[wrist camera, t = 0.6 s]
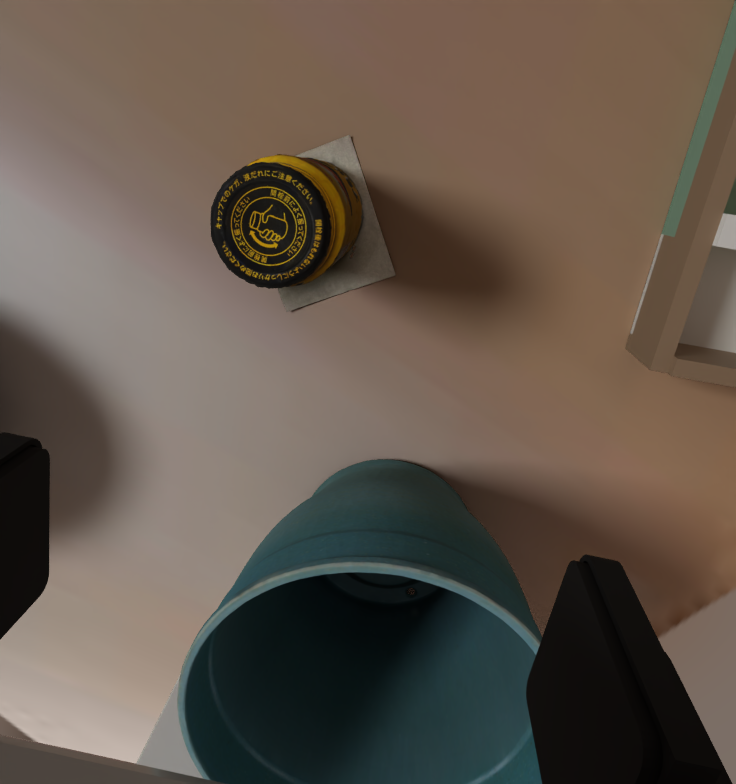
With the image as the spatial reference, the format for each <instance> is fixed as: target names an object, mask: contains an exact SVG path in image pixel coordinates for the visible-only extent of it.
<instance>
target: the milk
mask: <svg viewBox="0 0 736 784" xmlns="http://www.w3.org/2000/svg"><path fill="white" fill-rule="evenodd" d="M180 675H181V674H180ZM179 679H180V676H179V678H178V680H177V682H176V684H175V686H174V688H173V690H172V692H171V694H170V696H169V698H168V700H167V702H166V704H165V706H164V709H163V711H162V713H161V715H160V717H159V719H158V721H157V723H156V725H155V727H154V729H153V731H152V733H151V735H150V737H149V739H148V741H147V743H146V745H145V747H144V749H143V751H142V753H141V755H140V757H139V759H138V761H137V763H136V764H139V765H144V766H148V767H153V768H157V769H162V770H166V771H171V772H175V773H180V774H185V775H189V776H194V777H198V778H202V776H201V775H200V773H199V772H198V770H197V768H196V766H195V764H194V763H193V761H192V759H191V757H190V755H189V753H188V751H187V748H186V745H185V742H184V739H183V736H182V733H181V728H180V724H179V717H178V708H177V697H178V686H179Z"/></svg>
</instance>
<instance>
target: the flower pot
mask: <svg viewBox="0 0 736 784" xmlns="http://www.w3.org/2000/svg"><path fill="white" fill-rule="evenodd" d="M410 588H413V589H414V590H415V593H414V595H410V594H408V593H407V590H408V589H410ZM541 640H542V636H541V634H540V631H539V629H538V627H537V625H536V623H535V621H534V620H533V617H532V614H531V612H530V609H529V606H528V603H527V601H526V598H525V596H524V594H523V591H522V589H521V587H520V584H519V582H518V580H517V578H516V576H515V574H514V572H513V570H512V568H511V566H510V564H509V562H508V560H507V559H506V557H505V555H504V554H503V552H502V551H501V549H500V548H499V546H498V545H497V543H496V542H495V541H494V539H493V538H492V537H491V535H490V534H489V533H488V532H487V530H486V529H485V528H484V527H483V526H482V525H481V524H480V523H479V522H478V520H477V519H476V518H475V517H474V516H473V515H471V514H470V513H469V512H468V511H467V509H466V506H465V505H464V503H463V501H462V500H461V498H460V497H459V495H458V494H457V493H456V492H455V490H454V489H453V488H452V487H451V486H450V485H449V484H447V483H446V482H445V481H444V480H443V479H441V478H440V477H439V476H437V475H435V474H434V473H432V472H431V471H429V470H427V469H424V468H422V467H420V466H417V465H414V464H411V463H407V462H403V461H397V460H370V461H364V462H361V463H357V464H354V465H351V466H349V467H347V468H345V469H342V470H340V471H338V472H337V473H335V474H334V475H332V476H331V477H329V478H328V479H327V480H326V481H325V482H324V483H323V484H322V485H321V486H320V487H319V488H318V489H317V490H316V492H315V493H314V494H313V496H312V497H311V498H309V499H308V500H306V501H305V502H303V503H301V504H300V505H299V506H298V507H296V508H295V509H294V510H292V511H291V512H290V513H289V514H288V515H287V516H285V517H284V518H283V519H282V520H281V521H280V522H279V523H278V524H277V525H276V526H275V527H274V528H273V529H272V530H271V532H270V533H269V534H268V535H267V536H266V537H265V539H264V540H263V541H262V542H261V544H260V545H259V546H258V548H257V549H256V551H255V552H254V553H253V555H252V556H251V558H250V559H249V561H248V562H247V564H246V566H245V567H244V569H243V570H242V572H241V574H240V575H239V577H238V579H237V580H236V582H235V584H234V585H233V587H232V588H231V590H230V591H229V592H228V593H227V595H226V596H225V598H224V599H223V601H222V602H221V604H220V605H219V607H218V609H217V610H216V611H215V612H214V613H213V614H212V615H211V617H210V618H209V619H208V620H207V621H206V623H205V624H204V625H203V627H202V628H201V630H200V631H199V633H198V635H197V636H196V638H195V640H194V642H193V644H192V645H191V648H190V650H189V652H188V654H187V656H186V659H185V661H184V664H183V667H182V671H181V675H180V679H179V686H178V697H177V708H178V717H179V724H180V728H181V733H182V736H183V739H184V742H185V745H186V748H187V751H188V753H189V755H190V757H191V759H192V761H193V763H194V764H195V766H196V768H197V770H198V772H199V773H200V775H201V776H202V778H203V779H207V780H212V781H216V782H221V783H225V784H542V780H541V775H540V770H539V764H538V759H537V754H536V748H535V743H534V738H533V732H532V727H531V722H530V716H529V711H528V706H527V700H526V686H527V680H528V677H529V674H530V671H531V668H532V665H533V662H534V660H535V657H536V654H537V651H538V648H539V646H540V643H541Z"/></svg>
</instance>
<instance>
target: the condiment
mask: <svg viewBox="0 0 736 784" xmlns="http://www.w3.org/2000/svg"><path fill="white" fill-rule="evenodd" d="M211 237H212V241H213V243H214V245H215V247H216V249H217V252H218V254H219V256H220V258H221V259H222V261H223V262H224V263H225V264H226V266H227V268H228V269H229V270H231V271H232V272H233V273H234V274H235V275H237V276H238V277H239V278H241V279H244V280H245V281H246V282H248V283H250V284H255V285H256V286H257V287H266V288H269V289H270V288H278V291H279V293H280V297H281V299H282V301H283V304H284V307H285V309H286V312H288V311H291V310H294V309H297V308H299V307H302V306H305V305H308V304H311V303H314V302H317V301H320V300H323V299H326V298H329V297H331V296H335V295H338V294H341V293H344V292H347V291H349V290H353V289H356V288H359V287H362V286H365V285H368V284H371V283H374V282H377V281H380V280H383V279H386V278H389V277H392V276H395V275H396V274H395V271H394V268H393V265H392V262H391V259H390V256H389V253H388V250H387V247H386V244H385V241H384V238H383V235H382V232H381V229H380V226H379V223H378V219H377V216H376V213H375V210H374V207H373V204H372V201H371V198H370V195H369V192H368V189H367V186H366V183H365V180H364V177H363V173H362V170H361V167H360V164H359V161H358V158H357V155H356V152H355V149H354V146H353V143H352V140H351V137H350V135H348V136H346V137H343V138H340V139H338V140H335V141H332V142H330V143H327V144H325V145H322V146H320V147H317V148H315V149H312V150H309V151H307V152H304V153H302V154H299V155H296V156H289V155H281V154H278V155H275V156H269V157H265V158H260V159H257V160H255V161H253V162H251V163H250V164H249V165H247V166H244V167H243V168H242V169H240V170H238V171H236V172H235V173H234V174H233V175H232V176H230V178H229V179H228V180H227V181H226V182H224V184H223V185H222V186H221V189H220V190H219V191H218V192H217V195H216V197H215V199H214V202H213V205H212V207H211ZM353 246H356V249H355V250H354V251H353V250H352V248H353ZM352 252H353V253H354V255H353V258H350V255H351V253H352Z"/></svg>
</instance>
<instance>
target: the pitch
mask: <svg viewBox="0 0 736 784" xmlns="http://www.w3.org/2000/svg"><path fill="white" fill-rule="evenodd" d="M625 349H626V350H628V351H629V352H630V353H631V354H632V355H633V356H634V357H636V358H637V359H638V360H639V361H640V362H641V363H642V364H644V365H645V366H646V367H647V368H648V369H649V370H652V371H658V372H663V373H668V374H669V375H671V376H673V377H679V378H685V379H690V380H696V381H701V382H707V383H713V384H718V385H724V386H729V387H735V388H736V0H735V3H734V6H733V9H732V12H731V15H730V18H729V22H728V25H727V28H726V31H725V34H724V37H723V41H722V44H721V47H720V50H719V53H718V56H717V60H716V63H715V66H714V69H713V72H712V75H711V79H710V82H709V85H708V88H707V91H706V94H705V98H704V101H703V104H702V107H701V110H700V113H699V117H698V120H697V123H696V126H695V129H694V132H693V136H692V139H691V142H690V145H689V148H688V152H687V155H686V158H685V161H684V164H683V167H682V171H681V174H680V177H679V180H678V183H677V186H676V190H675V193H674V196H673V199H672V202H671V205H670V209H669V212H668V215H667V218H666V221H665V224H664V228H663V231H662V234H661V237H660V240H659V243H658V247H657V250H656V253H655V256H654V259H653V262H652V266H651V269H650V272H649V275H648V278H647V281H646V285H645V288H644V291H643V294H642V297H641V301H640V304H639V307H638V310H637V313H636V316H635V320H634V323H633V326H632V329H631V332H630V335H629V339H628V342H627V345H626V348H625Z"/></svg>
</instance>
